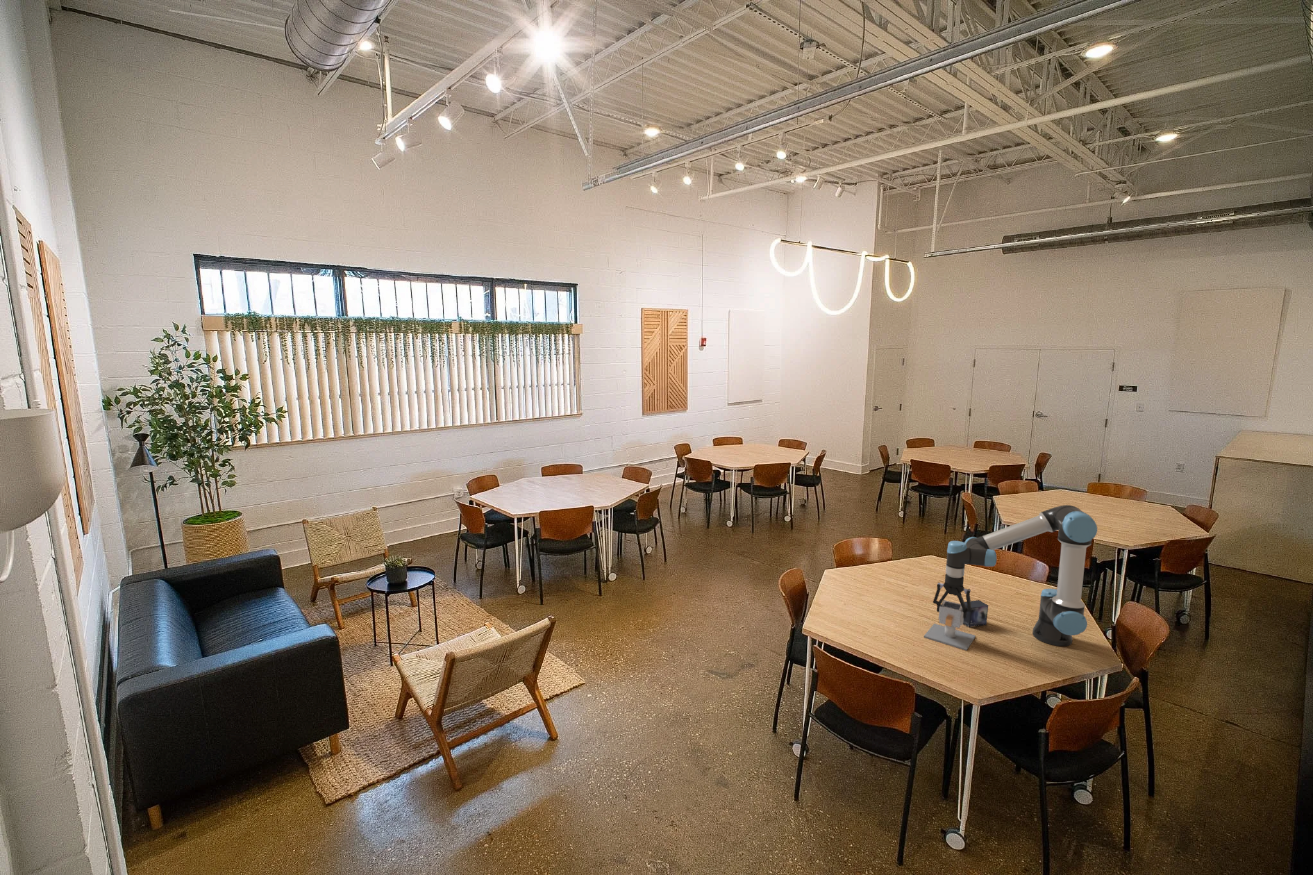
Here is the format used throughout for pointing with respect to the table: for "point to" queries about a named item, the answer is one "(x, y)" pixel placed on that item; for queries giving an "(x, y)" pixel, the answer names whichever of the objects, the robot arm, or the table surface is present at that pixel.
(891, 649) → the table surface
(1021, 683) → the table surface
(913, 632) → the table surface
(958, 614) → the collar
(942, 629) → the grey base with peg
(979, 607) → the small box
